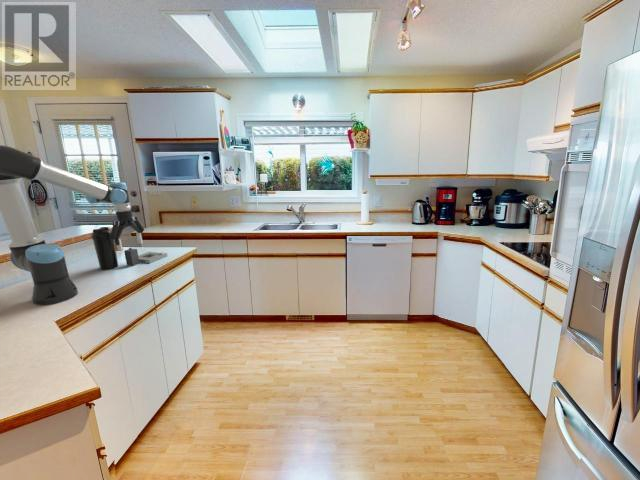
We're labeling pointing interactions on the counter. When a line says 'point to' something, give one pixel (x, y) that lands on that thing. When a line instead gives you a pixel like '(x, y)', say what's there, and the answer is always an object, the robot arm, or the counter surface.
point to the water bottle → (105, 248)
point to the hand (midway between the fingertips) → (130, 246)
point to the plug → (131, 257)
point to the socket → (151, 257)
